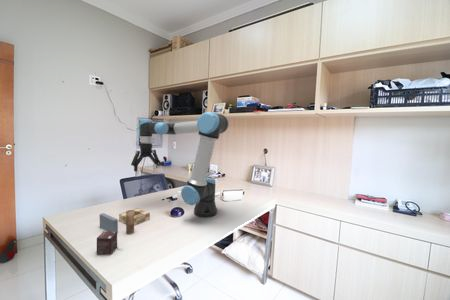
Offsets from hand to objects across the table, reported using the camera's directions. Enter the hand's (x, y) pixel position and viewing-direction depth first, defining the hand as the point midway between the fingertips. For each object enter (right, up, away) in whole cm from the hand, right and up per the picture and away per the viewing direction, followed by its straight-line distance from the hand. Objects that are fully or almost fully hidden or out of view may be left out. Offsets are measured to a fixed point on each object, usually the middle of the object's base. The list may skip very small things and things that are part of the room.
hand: (146, 174), depth 139 cm
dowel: (+5, -26, -35) cm, 44 cm away
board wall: (-1, -25, -24) cm, 34 cm away
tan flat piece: (+1, -23, -21) cm, 31 cm away
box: (+2, -27, -49) cm, 56 cm away
